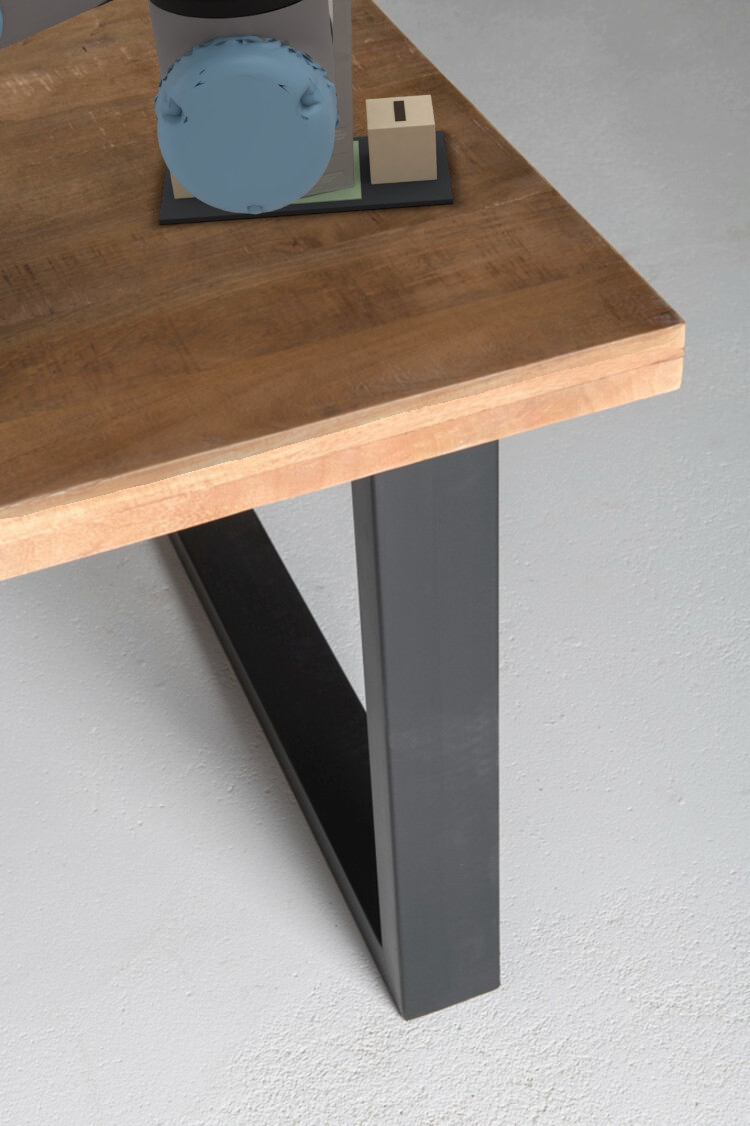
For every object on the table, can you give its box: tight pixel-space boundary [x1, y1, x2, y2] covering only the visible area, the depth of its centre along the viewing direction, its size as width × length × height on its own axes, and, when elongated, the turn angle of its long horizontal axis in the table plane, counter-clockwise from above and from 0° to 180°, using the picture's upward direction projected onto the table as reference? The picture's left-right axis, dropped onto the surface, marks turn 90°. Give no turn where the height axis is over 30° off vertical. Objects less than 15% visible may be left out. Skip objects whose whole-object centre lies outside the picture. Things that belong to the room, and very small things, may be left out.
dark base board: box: [158, 94, 454, 225], centre depth 108 cm, size 22×11×5 cm, turn 92°
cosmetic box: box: [303, 0, 355, 197], centre depth 104 cm, size 8×7×16 cm
